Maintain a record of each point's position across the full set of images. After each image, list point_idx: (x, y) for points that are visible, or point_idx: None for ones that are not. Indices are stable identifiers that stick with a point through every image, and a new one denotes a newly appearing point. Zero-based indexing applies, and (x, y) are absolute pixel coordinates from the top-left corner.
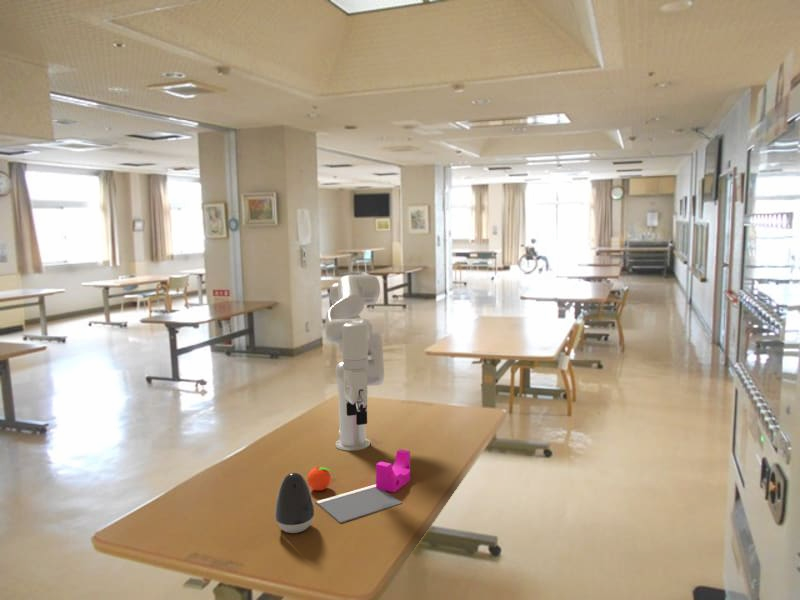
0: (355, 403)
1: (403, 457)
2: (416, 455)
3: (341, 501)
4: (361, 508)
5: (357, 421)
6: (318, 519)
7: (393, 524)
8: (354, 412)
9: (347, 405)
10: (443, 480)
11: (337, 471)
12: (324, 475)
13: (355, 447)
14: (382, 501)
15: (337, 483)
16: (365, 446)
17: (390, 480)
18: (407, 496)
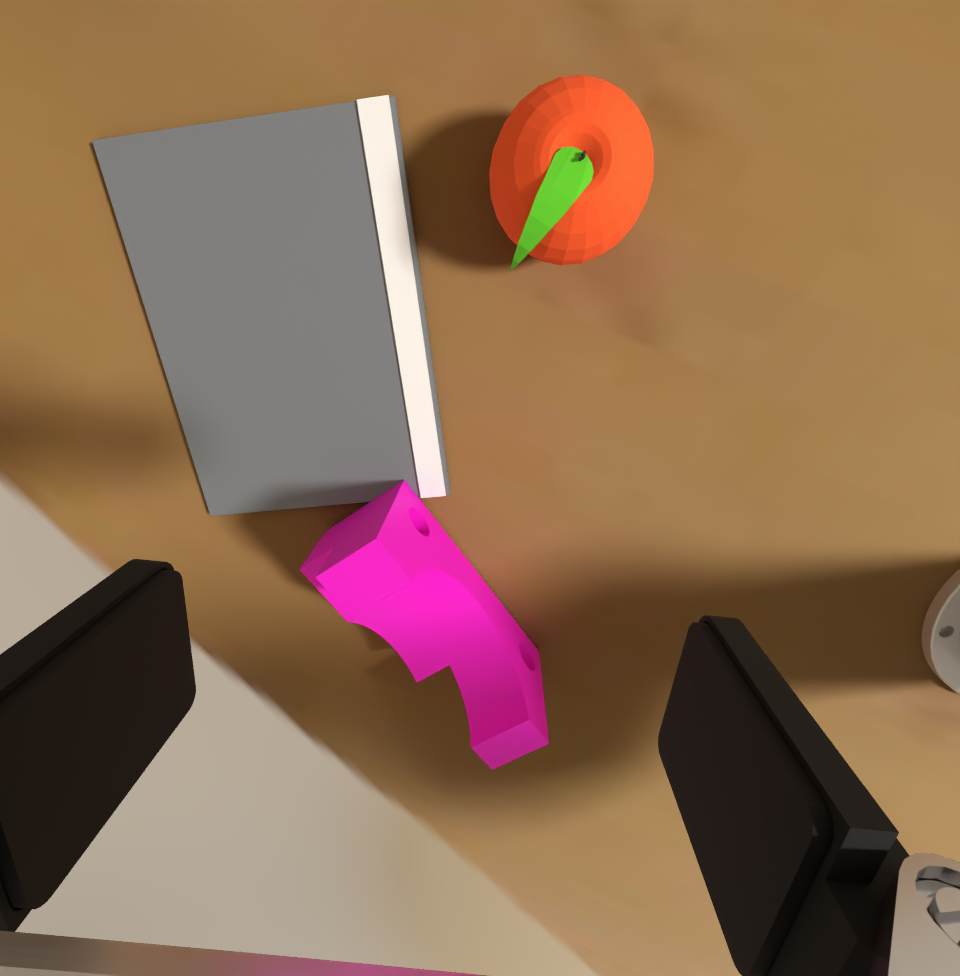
0: (744, 953)
1: (484, 713)
2: (662, 781)
3: (330, 248)
4: (212, 316)
5: (97, 595)
6: (181, 31)
7: (32, 391)
8: (679, 746)
9: (795, 780)
10: (365, 744)
11: (735, 392)
12: (504, 188)
13: (954, 604)
14: (252, 443)
15: (581, 328)
16: (928, 653)
17: (323, 548)
18: (278, 564)
